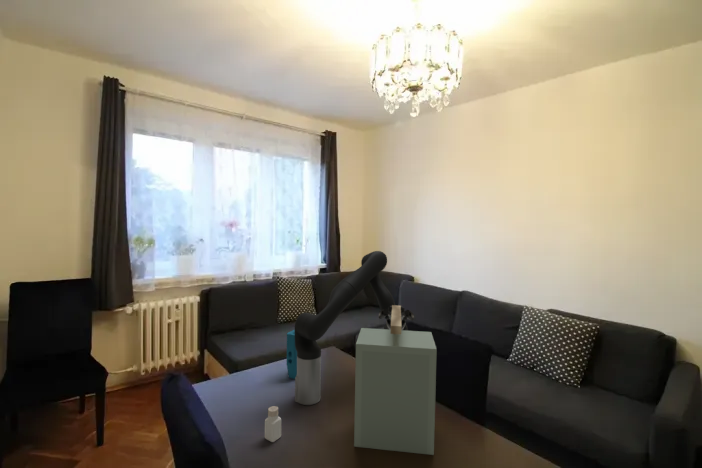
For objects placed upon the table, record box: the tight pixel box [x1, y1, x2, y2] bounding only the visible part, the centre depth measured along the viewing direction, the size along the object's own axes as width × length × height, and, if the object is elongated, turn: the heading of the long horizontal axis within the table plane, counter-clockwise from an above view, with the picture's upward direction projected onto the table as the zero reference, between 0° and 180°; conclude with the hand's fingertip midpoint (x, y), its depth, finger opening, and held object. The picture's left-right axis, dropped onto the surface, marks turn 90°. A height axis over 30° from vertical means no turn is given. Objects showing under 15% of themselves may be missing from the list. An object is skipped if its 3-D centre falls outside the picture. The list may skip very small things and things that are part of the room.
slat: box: [391, 304, 402, 334], centre depth 115 cm, size 3×26×2 cm, turn 172°
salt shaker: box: [264, 405, 282, 443], centre depth 109 cm, size 4×4×10 cm
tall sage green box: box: [353, 327, 438, 456], centre depth 111 cm, size 24×16×32 cm, turn 82°
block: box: [286, 329, 297, 380], centre depth 154 cm, size 12×5×20 cm, turn 153°
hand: (396, 309), depth 122 cm, fingers closed on slat, 3 cm apart
